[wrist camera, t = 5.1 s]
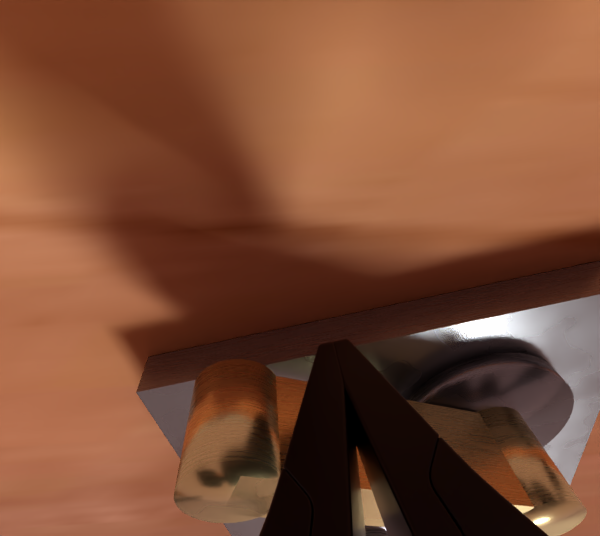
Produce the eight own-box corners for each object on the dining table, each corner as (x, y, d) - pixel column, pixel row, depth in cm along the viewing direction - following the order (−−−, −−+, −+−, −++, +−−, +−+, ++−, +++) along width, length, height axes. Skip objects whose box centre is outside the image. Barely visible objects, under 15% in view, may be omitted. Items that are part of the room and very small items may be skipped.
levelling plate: (609, 258, 12) (683, 305, 10) (533, 503, 21) (564, 554, 19) (148, 357, 13) (126, 422, 11) (266, 556, 22) (267, 613, 20)
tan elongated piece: (595, 370, 13) (703, 477, 10) (493, 466, 16) (552, 573, 13) (224, 279, 9) (207, 398, 6) (179, 423, 12) (151, 554, 9)
